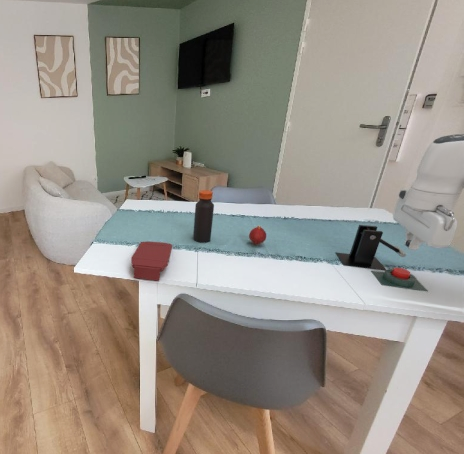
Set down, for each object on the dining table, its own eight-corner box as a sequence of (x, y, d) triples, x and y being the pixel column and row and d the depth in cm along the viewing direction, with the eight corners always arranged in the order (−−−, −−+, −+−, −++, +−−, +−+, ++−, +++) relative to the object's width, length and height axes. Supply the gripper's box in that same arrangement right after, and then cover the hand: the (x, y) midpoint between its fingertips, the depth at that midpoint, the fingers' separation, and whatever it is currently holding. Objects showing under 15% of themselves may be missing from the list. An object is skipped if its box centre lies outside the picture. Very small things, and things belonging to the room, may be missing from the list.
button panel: (411, 279, 87) (415, 270, 85) (426, 294, 80) (431, 285, 79) (369, 273, 90) (372, 265, 89) (380, 288, 83) (384, 279, 82)
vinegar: (191, 236, 122) (194, 189, 114) (207, 235, 121) (212, 189, 113) (195, 243, 115) (199, 194, 107) (212, 242, 115) (217, 194, 107)
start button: (404, 273, 85) (406, 268, 84) (411, 280, 82) (413, 275, 81) (388, 271, 86) (390, 266, 85) (394, 278, 83) (396, 273, 82)
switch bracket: (374, 259, 97) (386, 224, 92) (386, 273, 90) (400, 236, 85) (334, 255, 101) (344, 221, 96) (342, 268, 94) (354, 232, 89)
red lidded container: (141, 252, 118) (127, 276, 95) (141, 240, 117) (128, 262, 94) (171, 255, 114) (165, 281, 91) (172, 243, 113) (166, 267, 90)
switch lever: (393, 251, 93) (400, 246, 92) (401, 259, 89) (409, 253, 87) (358, 230, 94) (365, 225, 93) (364, 237, 90) (371, 231, 89)
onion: (249, 240, 115) (252, 221, 112) (265, 243, 112) (269, 224, 109) (246, 245, 111) (249, 226, 108) (263, 249, 108) (266, 229, 105)
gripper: (475, 215, 65) (449, 268, 71) (424, 190, 82) (406, 234, 88) (438, 212, 67) (415, 264, 73) (396, 189, 85) (380, 232, 90)
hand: (410, 247), depth 80 cm, fingers closed
